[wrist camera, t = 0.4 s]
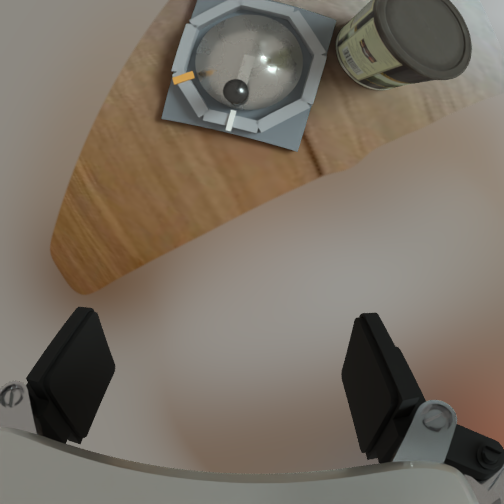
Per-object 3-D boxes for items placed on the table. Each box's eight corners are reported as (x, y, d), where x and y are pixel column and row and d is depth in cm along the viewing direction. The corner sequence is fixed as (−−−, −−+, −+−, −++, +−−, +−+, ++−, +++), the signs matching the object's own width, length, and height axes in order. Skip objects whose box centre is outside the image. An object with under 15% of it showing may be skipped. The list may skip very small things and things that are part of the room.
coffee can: (420, 54, 29) (484, 36, 16) (384, 106, 32) (446, 103, 20) (359, 4, 27) (405, -39, 14) (319, 55, 30) (354, 21, 17)
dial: (213, 9, 27) (205, -10, 21) (312, 32, 28) (323, 17, 22) (185, 98, 31) (171, 93, 26) (285, 122, 33) (292, 121, 27)
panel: (203, -8, 27) (200, -17, 24) (333, 23, 28) (340, 16, 26) (164, 118, 34) (157, 118, 31) (296, 150, 35) (299, 153, 33)
